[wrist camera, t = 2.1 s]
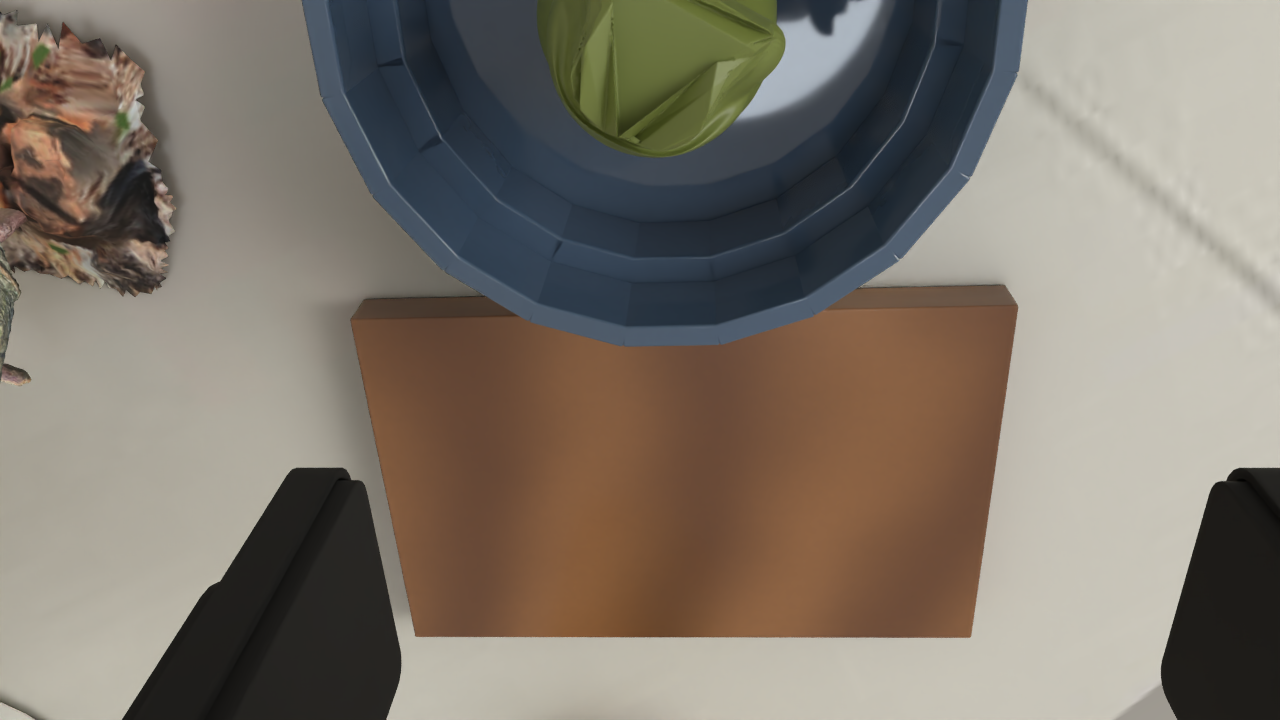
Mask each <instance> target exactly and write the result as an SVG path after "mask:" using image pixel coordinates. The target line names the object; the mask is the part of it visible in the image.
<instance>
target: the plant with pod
mask: <svg viewBox="0 0 1280 720" xmlns="http://www.w3.org/2000/svg"><path fill="white" fill-rule="evenodd" d="M144 73H145V71H144V70H142V69H141V68H140V67H139V66H138V65H137V64H136V63H134V62H133V61H132V60H131V59H130V58H129V57H128V56H127V55H126V54H125V53H124V52H123V51H122V50H121V49H120V48H119V47H118V46H117V45H116V46H115V49H114V53H113V57H112V60H110V58H109V56H108V54H107V51H106V49H105V47H104V45H103V43H102V41H101V39H100V38H99V39H95V40H92V41H89V42H86V43H81V42H80V41H79V40H78V39H77V37H76V36H75V35H74V34H73V33H72V32H71V31H70V29H69V28H68V27H67V26H66V25H65V24H64V22H63V23H62V30H61V37H60V43H59V50H58V48H57V45H56V43H55V40H54V38H53V35H52V33H51V30H50V28H49V25H48V23H47V25H46V27H45V30H44V32H43V34H42V36H41V38H40V40H39V42H38V33H37V23H36V24H27V25H19V26H17V10H16V11H13V12H10V13H7V14H4V15H3V14H2V13H1V12H0V381H2V382H5V383H7V384H13V385H17V386H22V384H26V383H29V382H30V381H31V378H30V376H29V375H28V373H27V372H26V371H24V370H23V369H20V368H16V367H13V366H11V365H9V364H3V363H4V358H5V352H6V349H7V345H8V339H9V334H10V331H11V322H12V318H13V315H14V308H13V306H14V302H15V301H16V300H18V298H19V296H20V294H21V290H20V289H19V284H18V283H17V282H16V279H14V278H13V276H12V273H11V270H12V271H13V272H14V273H15V270H14V266H15V267H17V268H19V269H21V270H22V271H24V272H25V271H28V270H31V269H33V270H35V271H37V272H38V273H40V274H51V275H53V276H56V277H59V278H64V277H66V276H68V275H69V276H70V277H71V278H72V279H74V280H75V281H76V282H77V283H79V284H81V283H82V282H84V281H86V282H87V283H89V284H90V285H91V286H93V285H94V282H95V279H96V281H97V283H98V285H99V287H100V289H101V287H102V285H103V284H104V282H106V283H107V285H108V287H109V288H116V289H117V290H118V291H119V293H120V294H121V295H122V296H124V294H125V291H126V290H127V291H128V292H129V293H130V294H132V295H133V296H134V297H136V296H137V295H138V294H139V293H140V292H144V293H149V294H152V291H153V289H154V287H155V288H156V289H157V288H159V287H162V286H161V284H160V283H159V282H161V281H163V280H164V279H166V278H165V277H164V276H162V275H161V274H162V273H168V272H167V271H165V270H163V269H161V268H162V267H165V266H168V264H166V263H164V262H162V261H160V260H162V259H164V258H166V257H168V255H167V253H166V252H165V251H164V250H166V249H168V247H167V245H166V244H165V242H169V241H170V240H169V237H168V235H170V234H172V233H174V232H175V231H174V229H173V228H172V226H171V224H170V223H169V219H170V218H171V216H172V213H173V211H174V210H176V209H177V208H176V207H174V206H173V205H172V204H171V203H170V201H171V199H172V197H173V196H171V195H166V193H167V190H168V188H167V187H166V186H165V185H164V184H163V182H162V177H161V170H160V169H158V168H157V167H155V166H154V165H152V164H151V163H149V162H148V161H149V159H150V157H151V155H152V153H153V150H154V148H155V146H156V144H157V142H158V140H157V139H156V137H155V136H154V135H153V134H152V133H151V132H150V131H149V130H148V129H147V127H146V126H145V125H144V124H143V123H142V122H141V121H140V118H141V116H142V113H143V110H144V108H145V107H144V106H143V105H142V104H140V103H139V102H138V101H137V100H135V99H137V98H139V97H141V96H142V95H144V93H143V91H142V88H141V85H140V83H141V81H142V78H143V76H144Z"/></svg>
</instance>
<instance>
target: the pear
mask: <svg viewBox="0 0 1280 720" xmlns="http://www.w3.org/2000/svg"><path fill="white" fill-rule="evenodd" d="M776 23H777V0H538V3H537V28H538V35H539V40H540V43H541V47H542V50H543V53H544V55H545V58H546V60H547V62H548V64H549V69H550V73H551V77H552V80H553V83H554V86H555V89H556V91H557V93H558V95H559V98H560V99H561V101H562V103H563V105H564V106H565V108H566V110H567V111H568V113H569V114H570V115H571V117H572V118H573V119H574V120H575V121H576V122H577V124H578V125H579V126H580V127H581V128H582V129H583V130H585V131H586V132H587V133H588V134H589V135H591V136H592V137H593V138H595V139H596V140H598V141H599V142H601V143H603V144H604V145H606V146H608V147H610V148H612V149H615V150H617V151H620V152H623V153H626V154H630V155H634V156H640V157H649V158H661V157H671V156H677V155H681V154H684V153H687V152H690V151H693V150H695V149H698V148H700V147H702V146H704V145H705V144H707V143H709V142H710V141H712V140H713V139H715V138H716V137H718V136H719V135H720V134H721V133H723V132H724V131H725V130H726V129H727V128H728V127H729V126H730V125H731V124H732V123H733V122H734V121H735V120H736V119H737V117H738V116H739V115H740V114H741V113H742V112H743V111H744V109H745V108H746V107H747V106H748V105H749V103H750V102H751V101H752V99H753V98H754V96H755V95H756V93H757V91H758V90H759V88H760V86H761V84H762V82H763V80H764V79H765V78H766V77H767V76H768V75H769V74H770V73H771V72H772V71H773V70H774V69H775V68H776V67H777V65H778V64H779V62H780V60H781V59H782V56H783V54H784V51H785V46H786V40H785V36H784V33H783V31H782V30H781V29H780V28H779V26H778V25H777V24H776Z"/></svg>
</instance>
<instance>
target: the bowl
mask: <svg viewBox="0 0 1280 720" xmlns="http://www.w3.org/2000/svg"><path fill="white" fill-rule="evenodd" d="M537 3H538V0H302V5H303V10H304V15H305V20H306V25H307V30H308V35H309V40H310V45H311V50H312V55H313V60H314V65H315V70H316V75H317V80H318V86H319V91H320V95H321V97H323V99H322V101H323V103H324V105H325V107H326V109H327V111H328V113H329V115H330V117H331V118H332V120H333V122H334V124H335V126H336V128H337V130H338V132H339V134H340V136H341V138H342V140H343V141H344V143H345V145H346V147H347V149H348V151H349V153H350V155H351V157H352V159H353V161H354V163H355V165H356V166H357V168H358V170H359V172H360V174H361V176H362V178H363V180H364V182H365V184H366V186H367V188H368V189H369V191H370V193H371V194H373V198H374V199H375V200H376V201H377V202H378V203H379V204H380V205H381V206H382V207H383V208H384V209H385V211H386V212H387V213H388V214H389V215H390V216H391V217H392V218H393V219H394V220H395V221H396V222H397V223H398V224H399V225H400V226H401V227H402V228H403V230H404V231H405V232H406V233H407V234H408V235H409V236H410V237H411V238H412V239H413V240H414V241H415V242H416V243H417V244H418V245H419V246H420V247H421V248H422V250H423V251H424V252H425V253H426V254H427V255H428V256H429V257H430V258H431V259H432V260H433V261H434V262H435V263H436V264H437V265H438V266H439V267H440V269H441V270H444V271H445V272H446V273H447V274H449V275H451V276H452V277H454V278H456V279H457V280H459V281H461V282H462V283H464V284H466V285H468V286H469V287H471V288H473V289H474V290H476V291H478V292H479V293H481V294H483V295H484V296H486V297H488V298H489V299H491V300H493V301H494V302H496V303H498V304H500V305H501V306H503V307H505V308H506V309H508V310H510V311H511V312H513V313H515V314H516V315H518V316H520V317H521V318H523V319H525V320H527V321H529V320H530V322H531V323H534V324H538V325H542V326H546V327H549V328H553V329H557V330H561V331H564V332H568V333H572V334H576V335H580V336H583V337H587V338H591V339H595V340H598V341H602V342H606V343H610V344H613V345H617V346H623V345H624V346H625V347H642V346H696V345H719V343H720V344H721V345H723V344H726V343H729V342H732V341H736V340H739V339H742V338H745V337H749V336H752V335H755V334H759V333H762V332H765V331H768V330H772V329H775V328H778V327H781V326H785V325H788V324H791V323H794V322H798V321H801V320H804V319H807V318H811V317H813V316H814V315H817V314H818V313H820V312H821V311H823V310H824V309H826V308H828V307H829V306H831V305H832V304H834V303H835V302H837V301H838V300H840V299H841V298H843V297H844V296H846V295H847V294H849V293H851V292H852V291H854V290H855V289H857V288H858V287H860V286H861V285H863V284H864V283H866V282H867V281H869V280H870V279H872V278H874V277H875V276H877V275H878V274H880V273H881V272H883V271H884V270H886V269H887V268H889V267H890V266H892V265H893V264H895V263H897V262H898V261H899V258H900V259H901V258H903V256H904V255H905V254H906V253H907V252H908V251H909V249H910V248H911V247H912V246H913V245H914V244H915V242H916V241H917V240H918V239H919V238H920V237H921V235H922V234H923V233H924V232H925V231H926V230H927V228H928V227H929V226H930V225H931V224H932V223H933V222H934V220H935V219H936V218H937V217H938V216H939V215H940V213H941V212H942V211H943V210H944V209H945V208H946V206H947V205H948V204H949V203H950V202H951V201H952V199H953V198H954V197H955V196H956V195H957V194H958V192H959V191H960V190H961V189H962V188H963V187H964V185H965V184H966V183H967V182H968V181H969V179H970V177H971V176H972V175H973V173H974V170H975V168H976V166H977V164H978V162H979V159H980V157H981V155H982V153H983V150H984V148H985V146H986V144H987V142H988V139H989V137H990V135H991V133H992V131H993V128H994V126H995V124H996V122H997V119H998V117H999V115H1000V113H1001V111H1002V108H1003V106H1004V104H1005V102H1006V99H1007V97H1008V95H1009V93H1010V91H1011V88H1012V86H1013V84H1014V82H1015V79H1016V77H1017V73H1016V72H1018V71H1019V67H1020V59H1021V51H1022V43H1023V35H1024V27H1025V20H1026V12H1027V4H1028V0H777V23H776V24H777V25H778V26H779V28H780V29H781V30H782V31H783V33H784V36H785V40H786V46H785V51H784V54H783V56H782V59H781V60H780V62H779V64H778V65H777V67H776V68H775V69H774V70H773V71H772V72H771V73H770V74H769V75H768V76H767V77H766V78H765V79H764V80H763V82H762V84H761V86H760V88H759V90H758V91H757V93H756V95H755V96H754V98H753V99H752V101H751V102H750V103H749V105H748V106H747V107H746V108H745V109H744V111H743V112H742V113H741V114H740V115H739V116H738V117H737V119H736V120H735V121H734V122H733V123H732V124H731V125H730V126H729V127H728V128H727V129H726V130H725V131H724V132H723V133H721V134H720V135H719V136H718V137H716V138H715V139H713V140H712V141H710V142H709V143H707V144H705V145H704V146H702V147H700V148H698V149H695V150H693V151H690V152H687V153H684V154H681V155H677V156H671V157H661V158H649V157H640V156H634V155H630V154H626V153H623V152H620V151H617V150H615V149H612V148H610V147H608V146H606V145H604V144H603V143H601V142H599V141H598V140H596V139H595V138H593V137H592V136H591V135H589V134H588V133H587V132H586V131H585V130H583V129H582V128H581V127H580V126H579V125H578V124H577V122H576V121H575V120H574V119H573V118H572V117H571V115H570V114H569V113H568V111H567V110H566V108H565V106H564V105H563V103H562V101H561V99H560V98H559V95H558V93H557V91H556V89H555V86H554V83H553V80H552V77H551V73H550V69H549V64H548V62H547V60H546V58H545V55H544V53H543V50H542V47H541V43H540V40H539V35H538V28H537Z"/></svg>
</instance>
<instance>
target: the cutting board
mask: <svg viewBox="0 0 1280 720" xmlns="http://www.w3.org/2000/svg"><path fill="white" fill-rule="evenodd" d="M1017 312H1018V305H1017V303H1016V301H1015V300H1014V298H1013V297H1012V295H1011V294H1010V292H1009V291H1008V289H1007V287H1006V286H1004V285H991V286H946V287H901V288H857V289H855V290H854V291H852V292H851V293H849V294H847V295H846V296H844V297H843V298H841V299H840V300H838V301H837V302H835V303H834V304H832V305H831V306H829V307H828V308H826V309H824V310H823V311H821V312H820V313H818V314H817V315H814V316H813V317H811V318H807V319H804V320H801V321H798V322H794V323H791V324H788V325H785V326H781V327H778V328H775V329H772V330H768V331H765V332H762V333H759V334H755V335H752V336H749V337H745V338H742V339H739V340H736V341H732V342H729V343H726V344H723V345H721V344H720V343H719V345H696V346H642V347H625V346H624V345H623V346H617V345H613V344H610V343H606V342H602V341H598V340H595V339H591V338H587V337H583V336H580V335H576V334H572V333H568V332H564V331H561V330H557V329H553V328H549V327H546V326H542V325H538V324H534V323H531V322H530V320H529V321H527V320H525V319H523V318H521V317H520V316H518V315H516V314H515V313H513V312H511V311H510V310H508V309H506V308H505V307H503V306H501V305H500V304H498V303H496V302H494V301H493V300H491V299H489V298H488V297H452V298H407V299H365V300H364V301H363V302H362V303H361V305H360V306H359V308H358V309H357V311H356V312H355V314H354V315H353V316H352V318H351V320H350V321H351V326H352V330H353V335H354V340H355V345H356V350H357V355H358V360H359V364H360V369H361V374H362V379H363V384H364V389H365V394H366V398H367V403H368V408H369V413H370V418H371V423H372V427H373V432H374V437H375V442H376V447H377V452H378V457H379V461H380V466H381V471H382V476H383V481H384V486H385V490H386V495H387V500H388V505H389V510H390V515H391V520H392V524H393V529H394V534H395V539H396V544H397V549H398V553H399V558H400V563H401V568H402V573H403V578H404V583H405V587H406V592H407V597H408V602H409V607H410V612H411V616H412V621H413V626H414V631H415V636H416V637H878V638H970V637H971V633H972V626H973V619H974V612H975V605H976V598H977V591H978V584H979V577H980V570H981V563H982V556H983V549H984V542H985V535H986V528H987V521H988V514H989V507H990V500H991V493H992V486H993V479H994V472H995V465H996V458H997V451H998V445H999V438H1000V431H1001V424H1002V417H1003V410H1004V403H1005V396H1006V389H1007V382H1008V375H1009V368H1010V361H1011V354H1012V347H1013V340H1014V333H1015V326H1016V319H1017Z"/></svg>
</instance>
